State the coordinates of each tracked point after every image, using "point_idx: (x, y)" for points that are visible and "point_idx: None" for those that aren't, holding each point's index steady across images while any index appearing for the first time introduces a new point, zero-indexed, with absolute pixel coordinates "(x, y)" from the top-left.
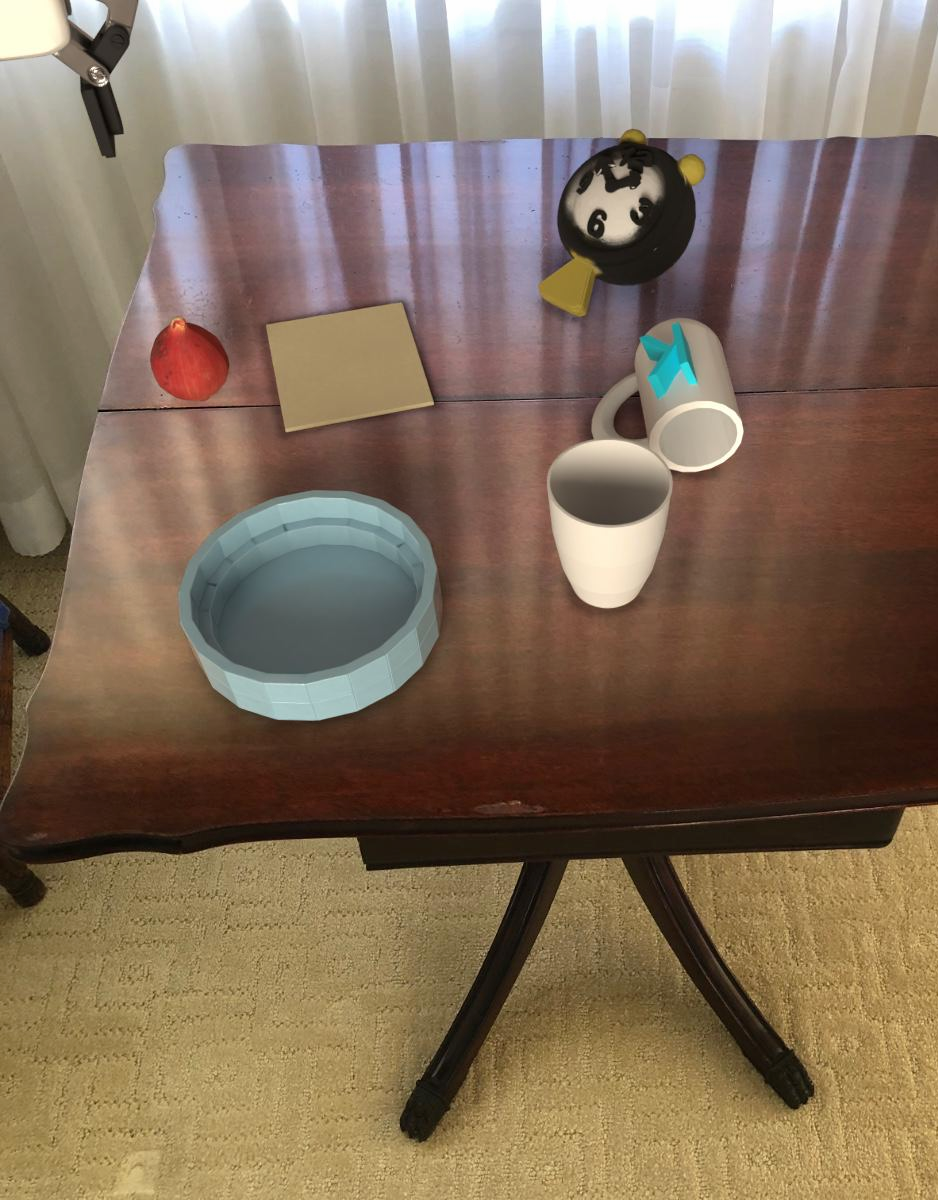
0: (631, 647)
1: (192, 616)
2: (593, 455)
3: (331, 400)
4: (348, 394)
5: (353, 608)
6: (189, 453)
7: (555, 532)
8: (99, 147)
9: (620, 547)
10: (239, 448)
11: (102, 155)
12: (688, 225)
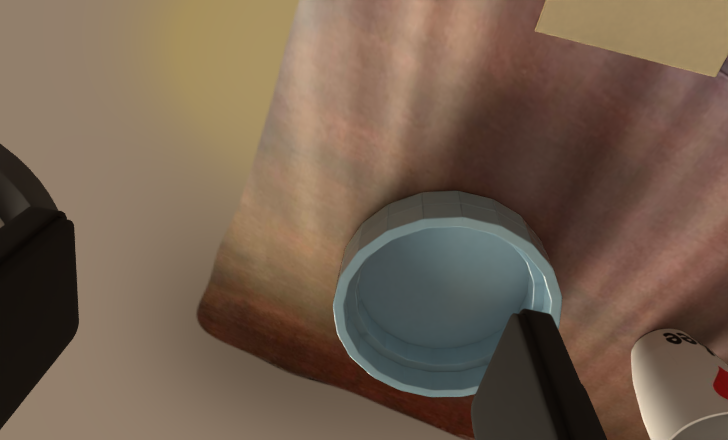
0: (627, 400)
1: (343, 303)
2: None
3: (613, 7)
4: (639, 7)
5: (470, 288)
6: (418, 5)
7: (648, 409)
8: (474, 431)
9: None
10: (473, 28)
11: (472, 412)
12: None
